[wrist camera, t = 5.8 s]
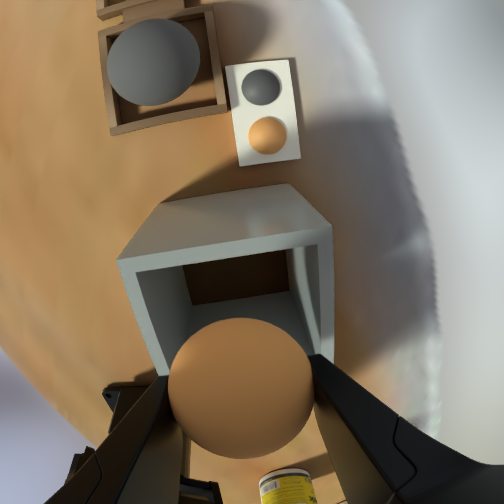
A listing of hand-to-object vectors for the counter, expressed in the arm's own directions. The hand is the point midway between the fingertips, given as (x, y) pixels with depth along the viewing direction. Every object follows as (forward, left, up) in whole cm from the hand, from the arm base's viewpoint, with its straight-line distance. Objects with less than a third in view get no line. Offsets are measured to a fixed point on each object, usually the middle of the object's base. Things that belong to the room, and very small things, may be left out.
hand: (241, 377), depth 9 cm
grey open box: (0, 0, -9) cm, 9 cm away
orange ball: (0, 0, -2) cm, 2 cm away
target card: (+7, -3, -9) cm, 12 cm away
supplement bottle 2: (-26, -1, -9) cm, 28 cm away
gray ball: (+10, +2, -9) cm, 14 cm away
